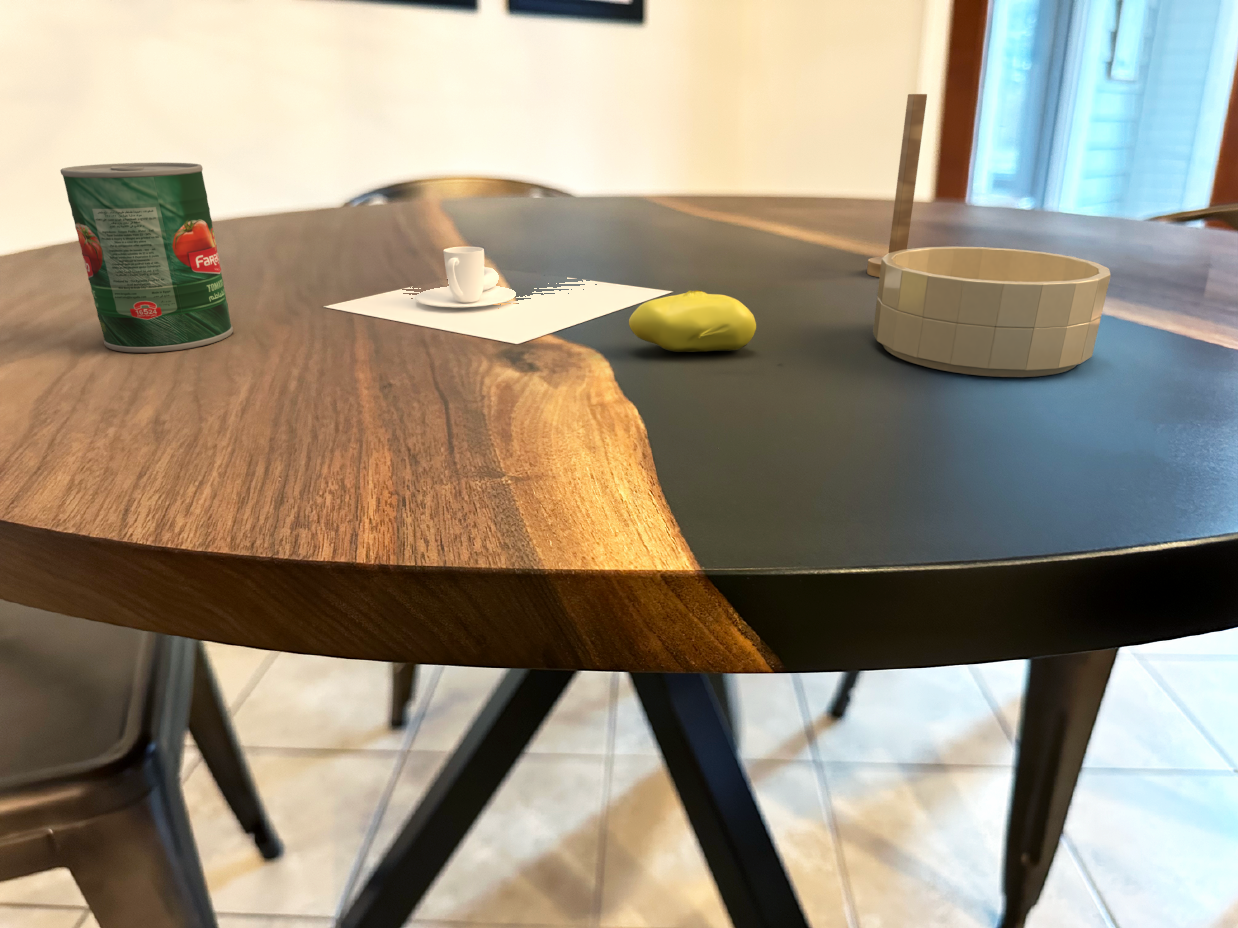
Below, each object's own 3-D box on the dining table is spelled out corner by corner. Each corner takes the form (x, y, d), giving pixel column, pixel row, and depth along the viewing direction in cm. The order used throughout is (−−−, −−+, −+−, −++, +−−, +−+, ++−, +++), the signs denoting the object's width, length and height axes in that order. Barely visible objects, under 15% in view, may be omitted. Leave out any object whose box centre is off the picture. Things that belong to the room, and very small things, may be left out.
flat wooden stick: (906, 268, 80) (929, 94, 74) (933, 278, 75) (960, 93, 69) (857, 270, 79) (876, 94, 73) (881, 280, 75) (904, 94, 69)
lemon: (758, 361, 51) (762, 298, 50) (627, 360, 52) (627, 297, 50) (751, 343, 55) (755, 284, 54) (630, 342, 55) (630, 283, 54)
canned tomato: (250, 338, 57) (219, 166, 52) (120, 360, 52) (74, 173, 48) (212, 318, 62) (181, 160, 58) (92, 336, 57) (48, 166, 53)
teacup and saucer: (471, 286, 73) (468, 237, 71) (543, 296, 68) (541, 245, 67) (394, 304, 66) (388, 252, 64) (468, 317, 62) (463, 261, 60)
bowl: (1008, 322, 60) (1022, 244, 58) (1139, 374, 49) (1163, 279, 47) (841, 330, 58) (849, 249, 56) (935, 386, 47) (950, 287, 44)
